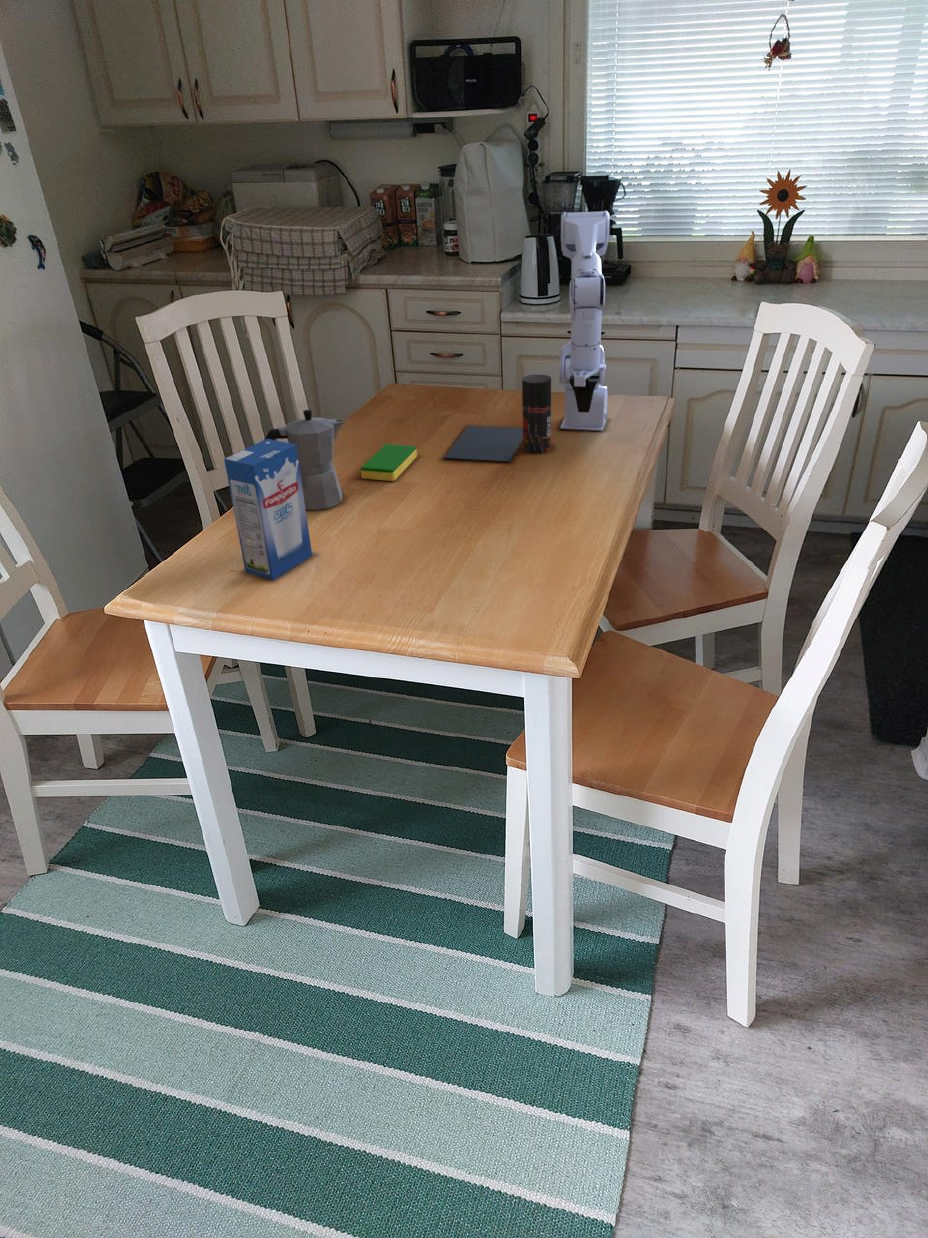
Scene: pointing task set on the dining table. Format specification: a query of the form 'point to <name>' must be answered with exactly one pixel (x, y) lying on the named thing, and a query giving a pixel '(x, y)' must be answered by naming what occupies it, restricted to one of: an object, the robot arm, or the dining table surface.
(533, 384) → the deodorant
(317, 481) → the coffeepot
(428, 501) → the dining table surface
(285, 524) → the milk carton
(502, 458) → the mat
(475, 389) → the dining table surface
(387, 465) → the dish sponge
